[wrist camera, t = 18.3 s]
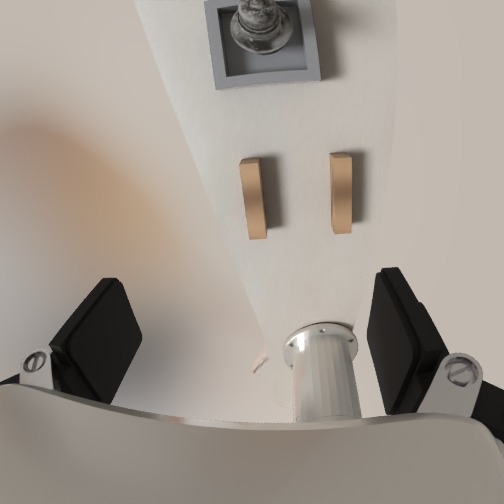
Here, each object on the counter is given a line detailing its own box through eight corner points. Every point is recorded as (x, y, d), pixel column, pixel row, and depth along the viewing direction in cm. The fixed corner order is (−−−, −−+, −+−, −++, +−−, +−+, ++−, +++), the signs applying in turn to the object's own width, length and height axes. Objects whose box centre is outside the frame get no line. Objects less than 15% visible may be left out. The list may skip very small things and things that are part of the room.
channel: (346, 224, 36) (351, 233, 33) (251, 230, 37) (249, 239, 35) (346, 152, 31) (351, 157, 29) (241, 159, 33) (239, 164, 30)
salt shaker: (270, 2, 22) (267, -43, 12) (301, 41, 25) (316, 12, 14) (224, 27, 24) (196, -6, 14) (254, 67, 27) (242, 51, 16)
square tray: (317, 82, 27) (321, 80, 25) (221, 90, 29) (215, 90, 26) (305, -1, 22) (308, -10, 20) (210, 8, 24) (203, 1, 21)
